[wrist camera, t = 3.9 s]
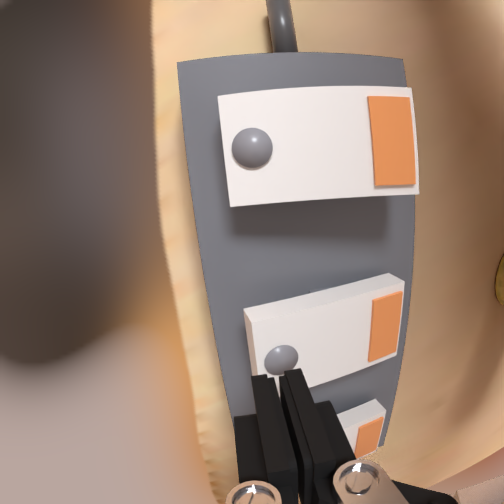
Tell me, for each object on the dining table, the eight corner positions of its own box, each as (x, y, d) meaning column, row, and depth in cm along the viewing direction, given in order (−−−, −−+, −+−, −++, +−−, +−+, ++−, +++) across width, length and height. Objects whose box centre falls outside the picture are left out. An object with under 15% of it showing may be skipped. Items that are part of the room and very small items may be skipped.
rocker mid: (243, 308, 13) (252, 324, 11) (388, 272, 14) (406, 282, 13) (253, 385, 14) (262, 404, 13) (383, 344, 15) (398, 356, 14)
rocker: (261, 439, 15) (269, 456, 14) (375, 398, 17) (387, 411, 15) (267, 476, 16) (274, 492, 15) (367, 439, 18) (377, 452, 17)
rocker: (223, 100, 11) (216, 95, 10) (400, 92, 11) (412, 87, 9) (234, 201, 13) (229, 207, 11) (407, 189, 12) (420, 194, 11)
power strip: (179, 15, 13) (170, -20, 9) (359, 12, 14) (391, -15, 10) (241, 440, 22) (245, 480, 18) (366, 415, 22) (385, 450, 18)
